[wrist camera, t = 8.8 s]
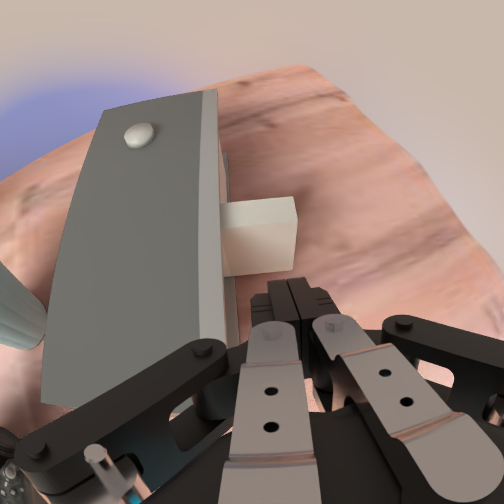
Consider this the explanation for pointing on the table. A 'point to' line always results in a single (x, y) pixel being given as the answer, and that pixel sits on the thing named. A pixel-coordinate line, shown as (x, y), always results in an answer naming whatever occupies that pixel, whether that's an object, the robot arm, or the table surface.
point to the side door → (256, 233)
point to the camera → (14, 475)
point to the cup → (19, 313)
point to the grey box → (140, 250)
